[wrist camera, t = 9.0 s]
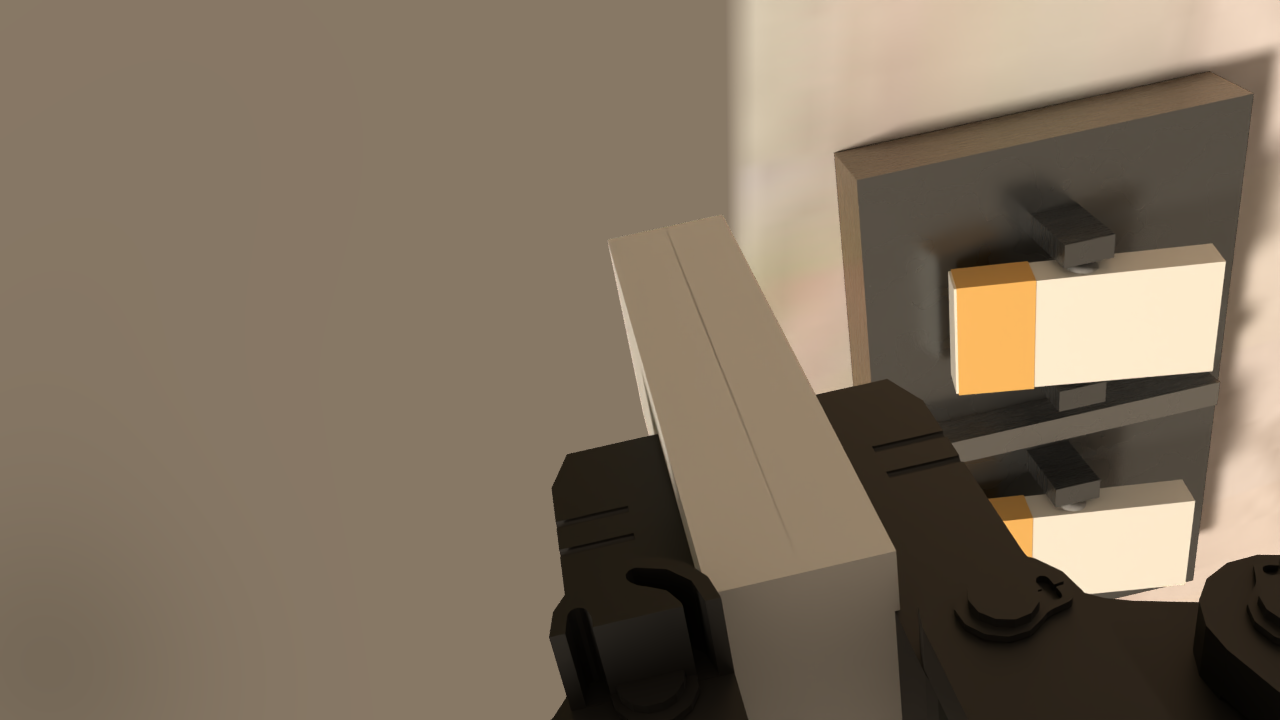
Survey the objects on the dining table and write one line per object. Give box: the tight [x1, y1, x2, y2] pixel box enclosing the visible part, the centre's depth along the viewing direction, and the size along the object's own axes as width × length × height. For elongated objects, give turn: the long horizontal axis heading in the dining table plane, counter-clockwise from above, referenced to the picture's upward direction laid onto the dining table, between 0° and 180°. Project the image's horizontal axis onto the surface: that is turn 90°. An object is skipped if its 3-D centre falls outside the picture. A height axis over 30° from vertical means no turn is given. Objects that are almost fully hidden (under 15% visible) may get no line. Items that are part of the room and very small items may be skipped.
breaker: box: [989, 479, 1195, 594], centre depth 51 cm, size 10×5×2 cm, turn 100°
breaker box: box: [834, 71, 1254, 599], centre depth 50 cm, size 16×26×6 cm, turn 10°
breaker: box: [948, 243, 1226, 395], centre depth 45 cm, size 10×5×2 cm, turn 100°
